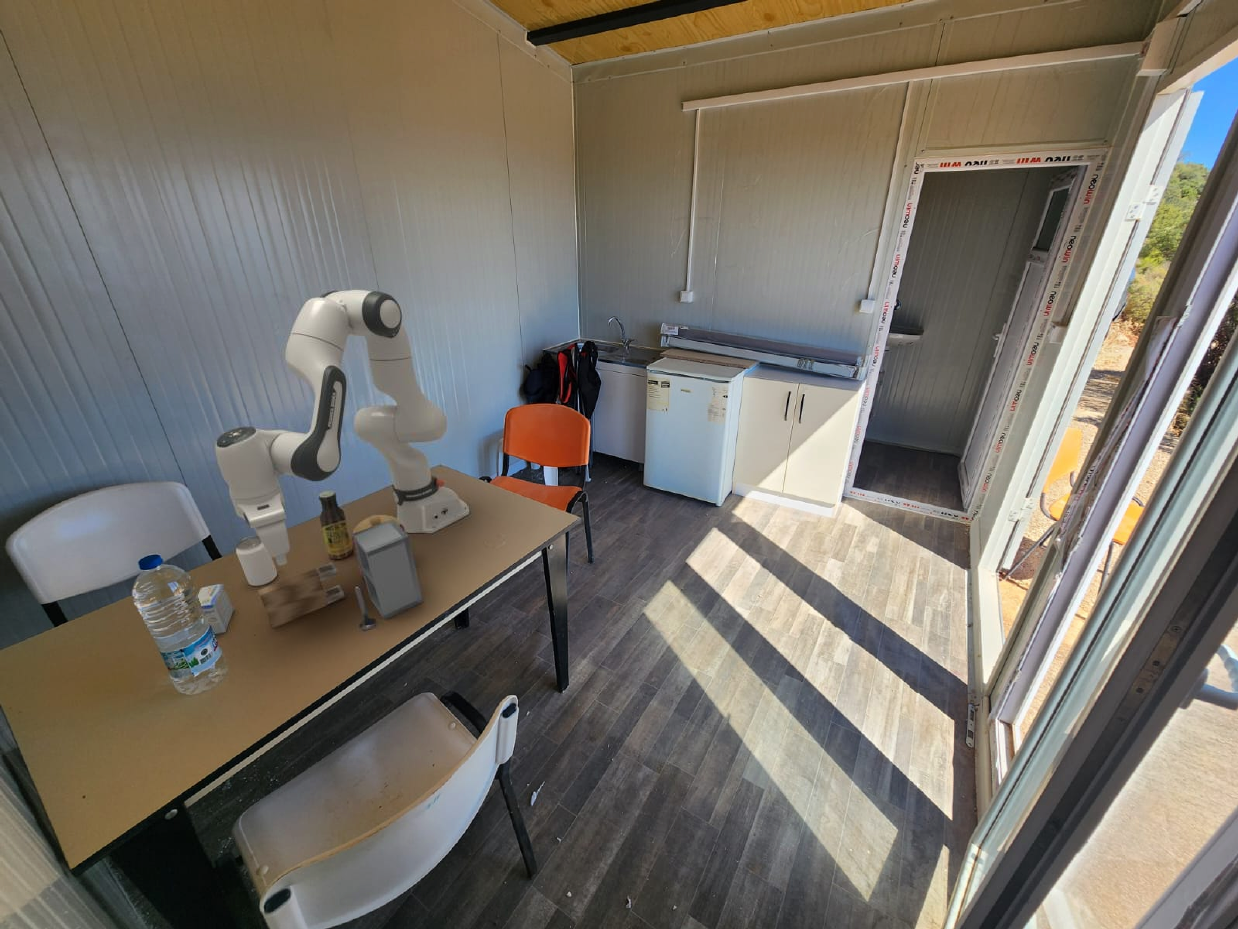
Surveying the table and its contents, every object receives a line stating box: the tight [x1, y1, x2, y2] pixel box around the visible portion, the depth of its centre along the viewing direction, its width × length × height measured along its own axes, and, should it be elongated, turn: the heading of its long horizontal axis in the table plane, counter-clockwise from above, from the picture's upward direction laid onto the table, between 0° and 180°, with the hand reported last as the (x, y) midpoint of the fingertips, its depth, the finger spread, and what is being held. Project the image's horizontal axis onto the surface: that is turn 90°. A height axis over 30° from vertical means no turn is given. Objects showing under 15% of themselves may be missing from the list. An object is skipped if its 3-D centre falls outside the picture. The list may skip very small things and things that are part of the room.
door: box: [257, 562, 345, 629], centre depth 120 cm, size 16×4×10 cm, turn 133°
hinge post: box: [354, 585, 377, 631], centre depth 115 cm, size 4×4×12 cm
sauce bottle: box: [318, 490, 353, 560], centre depth 138 cm, size 6×6×20 cm
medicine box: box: [197, 583, 235, 635], centre depth 116 cm, size 8×4×9 cm, turn 23°
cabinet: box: [352, 519, 423, 621], centre depth 121 cm, size 10×10×20 cm
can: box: [235, 535, 278, 587], centre depth 129 cm, size 6×6×12 cm
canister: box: [351, 514, 406, 581], centre depth 132 cm, size 13×13×18 cm
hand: (277, 554), depth 113 cm, fingers open, 8 cm apart
